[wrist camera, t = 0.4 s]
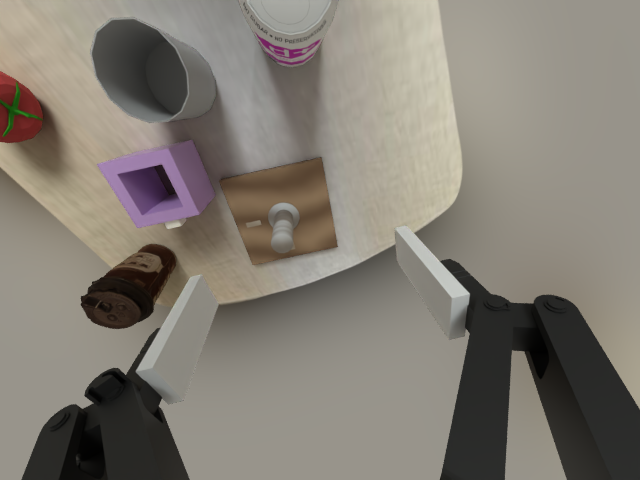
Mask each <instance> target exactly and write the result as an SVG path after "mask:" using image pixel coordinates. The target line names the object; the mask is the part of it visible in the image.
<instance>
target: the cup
mask: <svg viewBox="0 0 640 480" xmlns="http://www.w3.org/2000/svg"><path fill="white" fill-rule="evenodd" d="M90 55H91V59H92V64H93V68H94V73H95V77H96V79H97V80H98V82H99V84H100V85H101V87H102V88H103V90H104V91H105V93H106V95H107V96H108V98H109V99H110V100H111V101H112V102H113V103H114V104H116V105H117V106H118V107H119V108H120V109H122V110H123V111H124V112H125V113H126V114H128V115H129V116H132V117H134V118H137V119H140V120H142V121H145V122H148V123H157V122H170V121H176V120H182V119H189V118H195V117H200V116H201V115H203V114H204V113H206V112H207V111H209V110H210V109H211V107H212V104H213V102H214V100H215V98H216V80H215V78H214V75H213V73H212V71H211V68H210V66H209V63H208V62H207V61H206V60H205V59H204V58H203V57H202V56H201V55H200V54H199V53H198V52H197V50H196V49H194V48H192V47H190V46H188V45H187V44H185V43H183V42H181V41H179V40H178V39H176V38H174V37H172V36H170V35H169V34H167V33H165V32H163V31H161V30H159V29H158V28H156V27H153V26H151V25H149V24H147V23H145V22H143V21H141V20H139V19H137V18H134V17H125V18H111V19H109V20H108V21H107V22H106V23H105V24H103V25H102V26H101V27H100V28H99V29H97V30H96V31H95V35H94V39H93V43H92V47H91V51H90Z"/></svg>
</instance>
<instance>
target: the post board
mask: <svg viewBox="0 0 640 480" xmlns="http://www.w3.org/2000/svg"><path fill="white" fill-rule="evenodd" d="M219 182H220V185H221V187H222V190H223V192H224V195H225V197H226V200H227V202H228V205H229V207H230V210H231V212H232V215H233V217H234V220H235V222H236V225H237V227H238V229H239V232H240V234H241V237H242V239H243V242H244V244H245V247H246V249H247V252H248V254H249V257H250V259H251V262H252V264H253V265H256V264H260V263H265V262H269V261H274V260H279V259H283V258H288V257H293V256H297V255H302V254H306V253H311V252H316V251H320V250H325V249H330V248H334V247H338V246H337V240H336V235H335V229H334V224H333V218H332V213H331V207H330V202H329V196H328V190H327V185H326V179H325V174H324V168H323V163H322V158H321V157H320V158H315V159H311V160H306V161H302V162H297V163H293V164H288V165H283V166H279V167H274V168H270V169H265V170H260V171H256V172H251V173H247V174H242V175H237V176H233V177H228V178H224V179H221V180H220V181H219Z"/></svg>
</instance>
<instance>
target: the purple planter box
mask: <svg viewBox="0 0 640 480" xmlns="http://www.w3.org/2000/svg"><path fill="white" fill-rule="evenodd" d="M161 164H162V165H163V167H164V169H165V171H166V173H167V175H168V177H169V179H170V181H171V183H172V185H173V187H174V189H175V191H176V193H177V194H173V195H168V193H167V191H166V189H165V187H164V185H163V183H162V181H161V179H160V178H159V176H158V174H157V172H156V170H155V168H154V166H156V165H161ZM97 166H98V167H99V169H100V170H101V172H102V173H103V175H104V177H105V178H106V180H107V181H108V183H109V184H110V186H111V188H112V189H113V191H114V192H115V194H116V195H117V197H118V199H119V200H120V202H121V203H122V205H123V206H124V208H125V210H126V211H127V213H128V214H129V216H130V217H131V219H132V221H133V222H134V224H135V225H136V227H137V228H141V227H145V226H150V225H154V224H159V223H164V224H165V226H166V228H167V229H170V228H175V227H180V226H182V225H183V224H184V223H185V222H186V220H187V219H186V218H187V217H191V216H196V215H200V214H201V212H202V211H203V210H204V209H205V208H206V206H207V205H208V204H209V203H210V201H211V200H212V199H213V198H214V197H215V195H216V194H215V192H214V189H213V187H212V185H211V182H210V180H209V178H208V175H207V173H206V171H205V168H204V166H203V163H202V161H201V159H200V156H199V154H198V152H197V149H196V147H195V144H194V142H193V140H188V141H183V142H179V143H174V144H169V145H165V146H160V147H156V148H151V149H147V150H142V151H138V152H134V153H130V154H127V155H124V156H121V157H118V158H115V159H111V160H108V161H105V162H102V163H99V164H97Z"/></svg>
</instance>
